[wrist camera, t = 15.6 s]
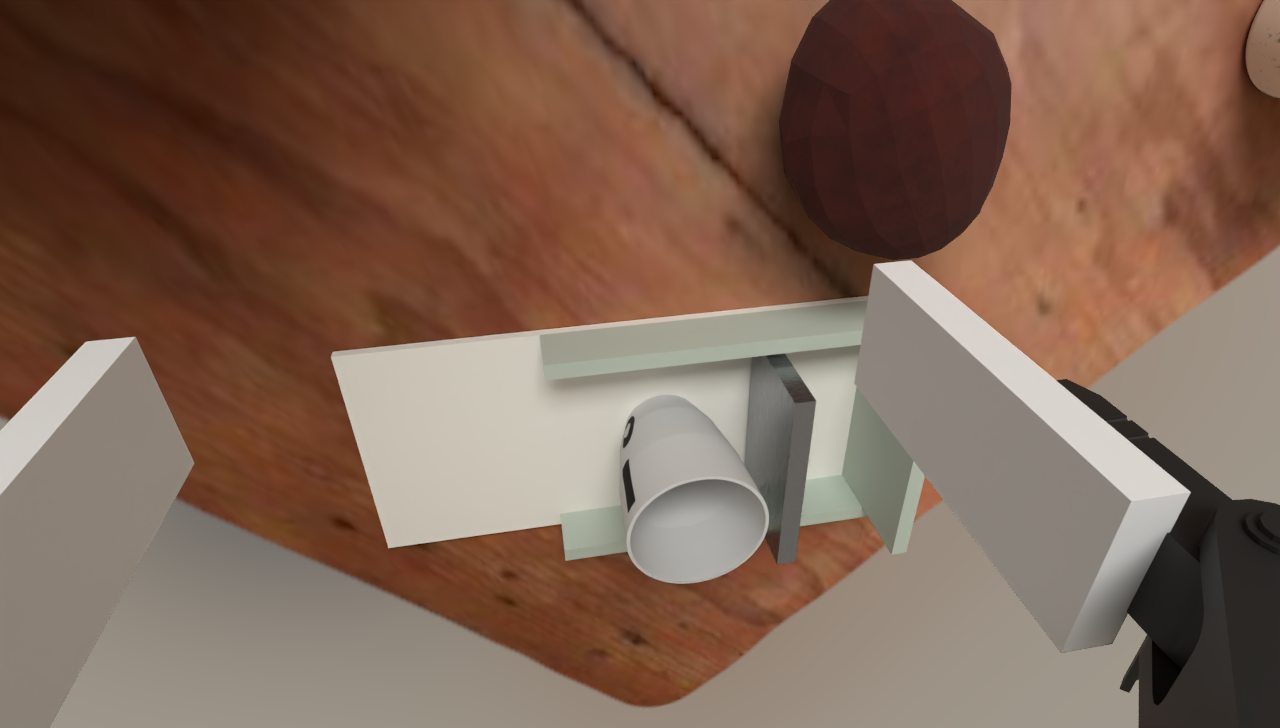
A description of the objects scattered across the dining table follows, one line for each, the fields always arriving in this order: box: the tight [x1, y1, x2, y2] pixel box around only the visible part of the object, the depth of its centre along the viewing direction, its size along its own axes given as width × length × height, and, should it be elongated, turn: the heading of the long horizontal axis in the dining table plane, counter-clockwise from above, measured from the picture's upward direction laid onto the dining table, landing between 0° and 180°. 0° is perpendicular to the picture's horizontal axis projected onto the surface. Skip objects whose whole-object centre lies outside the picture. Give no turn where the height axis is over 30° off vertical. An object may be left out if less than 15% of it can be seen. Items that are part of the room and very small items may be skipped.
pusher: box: [745, 353, 816, 565], centre depth 45 cm, size 1×13×8 cm, turn 2°
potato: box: [779, 0, 1011, 260], centre depth 35 cm, size 11×13×10 cm
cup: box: [619, 395, 769, 584], centre depth 44 cm, size 8×8×10 cm
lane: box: [331, 296, 925, 561], centre depth 44 cm, size 34×16×9 cm, turn 92°
